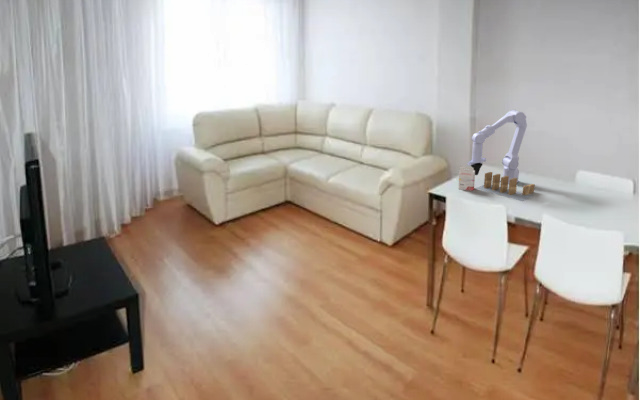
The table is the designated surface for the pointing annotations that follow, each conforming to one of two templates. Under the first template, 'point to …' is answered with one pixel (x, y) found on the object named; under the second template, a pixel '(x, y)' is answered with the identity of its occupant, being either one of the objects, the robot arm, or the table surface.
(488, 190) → the mat
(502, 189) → the domino
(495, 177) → the domino
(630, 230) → the table surface
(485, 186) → the domino
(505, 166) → the robot arm
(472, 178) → the ink cartridge box
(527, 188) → the loose domino
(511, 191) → the domino
